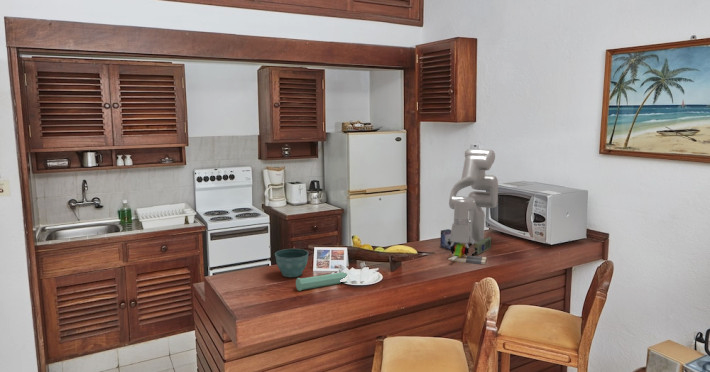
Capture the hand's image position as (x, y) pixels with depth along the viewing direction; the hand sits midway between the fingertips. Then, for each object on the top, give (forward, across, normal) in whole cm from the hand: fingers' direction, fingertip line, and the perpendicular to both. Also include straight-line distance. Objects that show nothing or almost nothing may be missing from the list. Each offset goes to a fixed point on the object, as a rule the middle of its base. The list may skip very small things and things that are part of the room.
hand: (459, 253), depth 271 cm
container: (+4, +54, +64) cm, 84 cm away
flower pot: (+4, +74, +55) cm, 92 cm away
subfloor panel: (+3, -5, 0) cm, 6 cm away
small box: (+4, +8, -21) cm, 23 cm away
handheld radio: (+4, -10, -20) cm, 23 cm away
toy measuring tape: (+2, +1, +2) cm, 3 cm away
